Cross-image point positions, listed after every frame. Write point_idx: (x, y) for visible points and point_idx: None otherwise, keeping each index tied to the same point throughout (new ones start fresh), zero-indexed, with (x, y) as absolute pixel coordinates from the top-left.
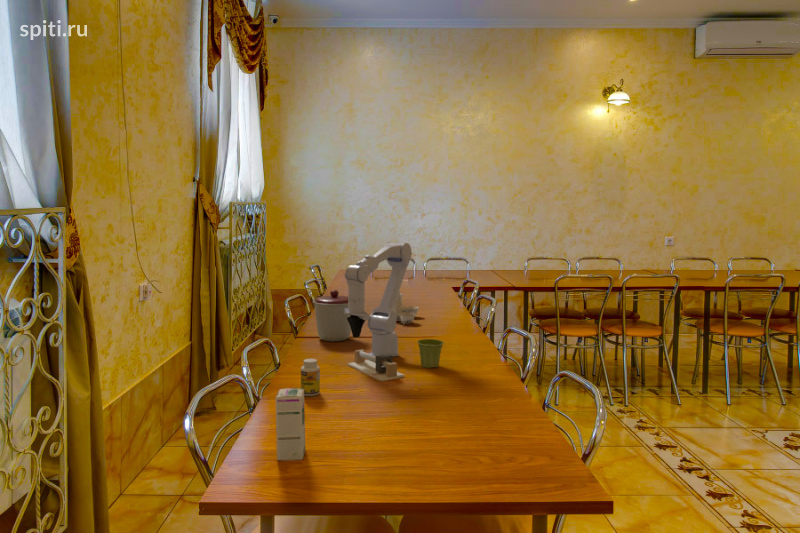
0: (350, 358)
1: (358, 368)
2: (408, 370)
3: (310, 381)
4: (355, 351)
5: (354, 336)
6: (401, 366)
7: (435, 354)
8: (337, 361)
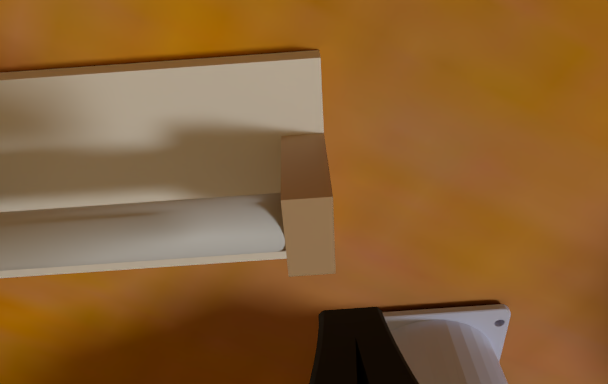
0: (511, 168)
1: (100, 72)
2: (16, 348)
3: None
4: (314, 193)
5: (321, 320)
6: (123, 351)
7: None
8: (508, 24)
